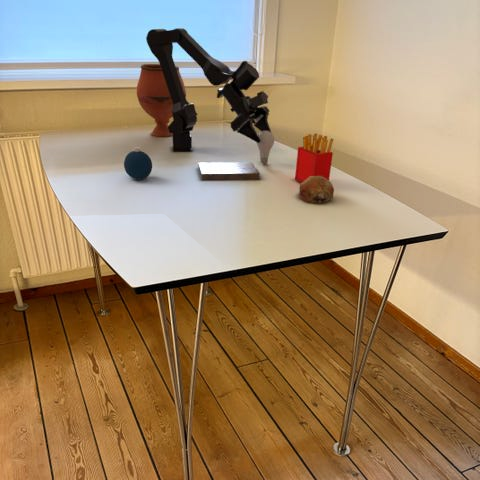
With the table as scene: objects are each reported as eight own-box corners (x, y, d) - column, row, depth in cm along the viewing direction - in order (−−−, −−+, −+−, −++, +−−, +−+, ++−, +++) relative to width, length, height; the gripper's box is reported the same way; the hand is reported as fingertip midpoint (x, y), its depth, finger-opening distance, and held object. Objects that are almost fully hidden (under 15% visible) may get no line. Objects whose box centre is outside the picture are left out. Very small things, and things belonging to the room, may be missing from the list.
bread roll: (332, 209, 145) (338, 181, 144) (328, 204, 135) (334, 175, 134) (299, 204, 147) (304, 176, 146) (293, 199, 137) (299, 170, 136)
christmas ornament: (158, 178, 151) (157, 145, 146) (138, 185, 145) (136, 150, 140) (139, 173, 155) (137, 140, 150) (119, 179, 149) (116, 145, 144)
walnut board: (201, 180, 151) (201, 173, 150) (198, 169, 161) (198, 162, 160) (258, 179, 154) (259, 173, 153) (252, 168, 164) (252, 162, 163)
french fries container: (311, 177, 158) (317, 132, 151) (329, 185, 152) (336, 138, 144) (293, 180, 155) (298, 133, 148) (311, 188, 149) (317, 140, 141)
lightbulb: (272, 167, 166) (275, 133, 160) (255, 166, 166) (256, 132, 160) (272, 162, 172) (274, 129, 166) (254, 161, 172) (256, 128, 166)
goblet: (184, 140, 192) (182, 69, 179) (135, 138, 192) (129, 67, 178) (189, 130, 208) (187, 64, 195) (143, 128, 208) (139, 61, 194)
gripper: (240, 86, 150) (270, 128, 152) (265, 79, 164) (293, 118, 166) (217, 110, 158) (246, 151, 159) (244, 102, 172) (270, 139, 174)
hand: (265, 139), depth 164 cm, fingers open, 9 cm apart
